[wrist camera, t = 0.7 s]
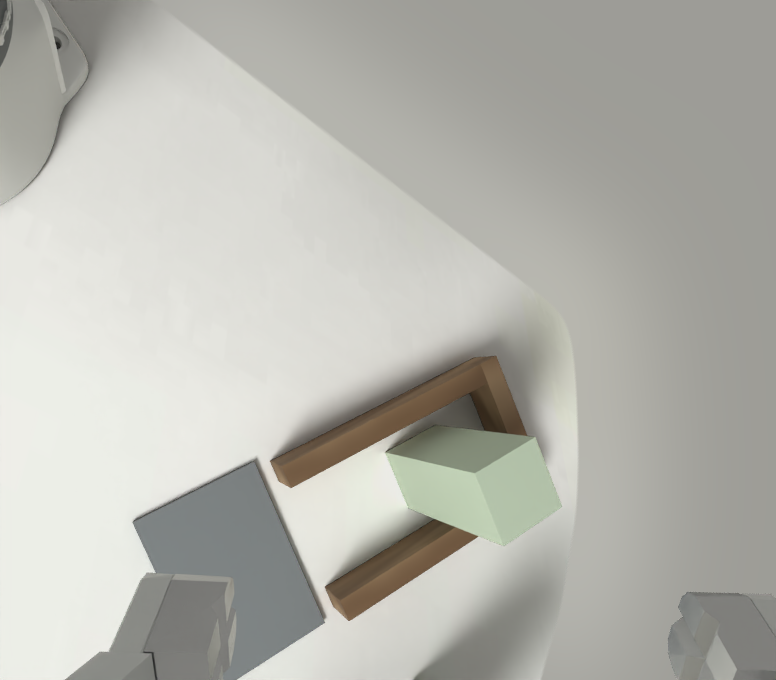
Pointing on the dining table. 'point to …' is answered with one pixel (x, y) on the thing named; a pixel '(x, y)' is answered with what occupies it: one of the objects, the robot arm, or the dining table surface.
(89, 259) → the dining table surface
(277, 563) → the mat
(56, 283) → the dining table surface
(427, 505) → the sage block
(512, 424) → the frame
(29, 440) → the dining table surface
